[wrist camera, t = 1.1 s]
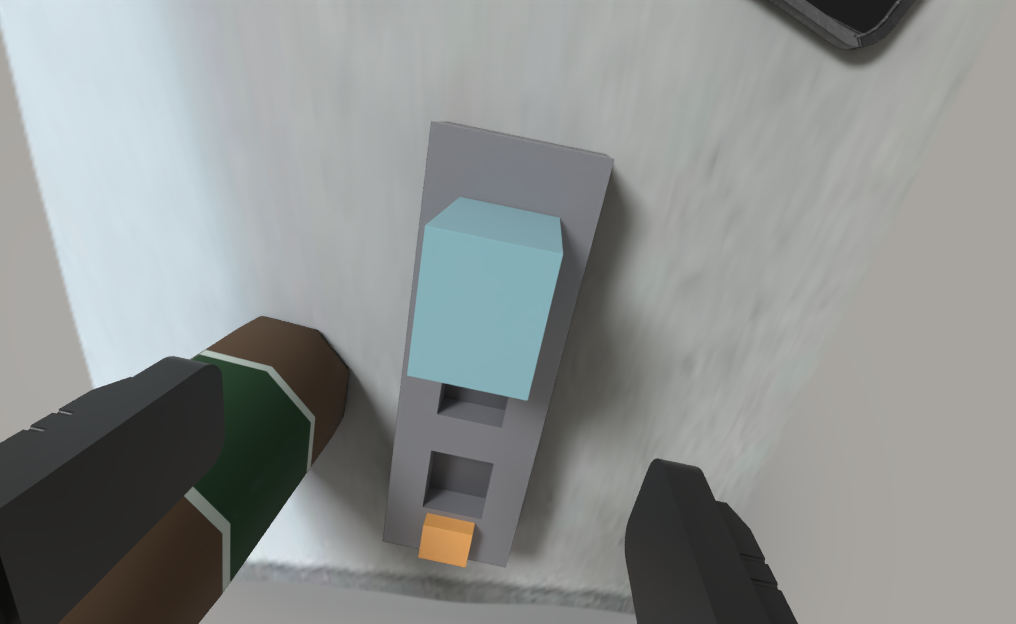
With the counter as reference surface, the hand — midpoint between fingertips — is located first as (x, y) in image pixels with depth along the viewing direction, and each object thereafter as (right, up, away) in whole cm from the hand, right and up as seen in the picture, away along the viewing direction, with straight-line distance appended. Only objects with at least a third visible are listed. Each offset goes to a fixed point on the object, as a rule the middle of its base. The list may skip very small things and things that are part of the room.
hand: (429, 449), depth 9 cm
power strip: (0, 0, +16) cm, 16 cm away
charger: (+1, +5, +12) cm, 13 cm away
